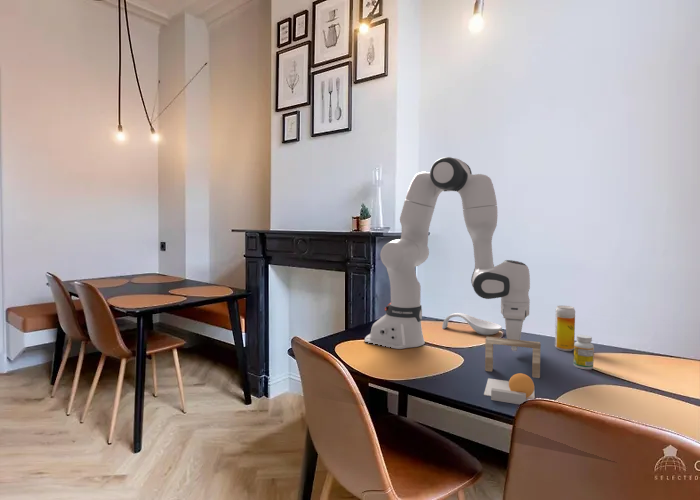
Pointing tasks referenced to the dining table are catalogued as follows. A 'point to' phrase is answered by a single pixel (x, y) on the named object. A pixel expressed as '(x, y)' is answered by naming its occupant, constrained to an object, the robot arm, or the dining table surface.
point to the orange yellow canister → (565, 328)
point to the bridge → (512, 342)
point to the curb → (508, 396)
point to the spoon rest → (476, 324)
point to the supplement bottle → (583, 352)
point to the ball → (521, 384)
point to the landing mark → (500, 387)
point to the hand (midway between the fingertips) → (514, 349)
